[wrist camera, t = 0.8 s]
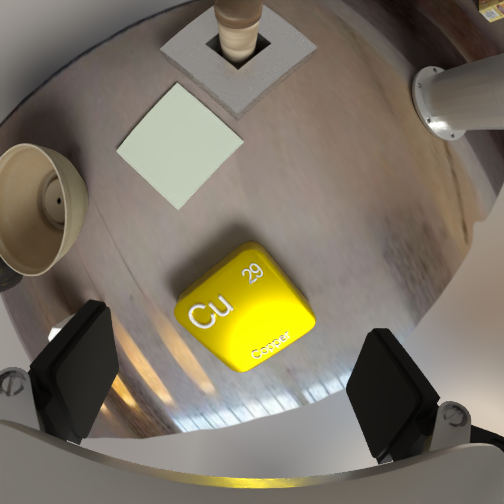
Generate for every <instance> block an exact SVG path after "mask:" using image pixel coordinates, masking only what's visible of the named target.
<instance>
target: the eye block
mask: <svg viewBox="0 0 504 504" xmlns="http://www.w3.org/2000/svg"><path fill="white" fill-rule="evenodd" d="M255 48H256V49H257V50H259V51H260V53H259V54H257V55H256V56H255V57H253V58H252V59H251V60H250V61H249V62H247V63H246V64H245V65H244V66H242V67H241V68H240V69H239V70H237V69H236V68H235V67H234V66H232V65H231V64H230V63H229V62H227V61H226V60H225V59H224V58H222V57H221V56H220V55H219V54H217V53H216V52H218V51H219V50H220V49H221V43H220V36H219V30H218V24H217V19H216V17H215V12H214V6H212V7H211V8H209V9H208V10H207V11H205V12H204V13H203V14H201V15H200V16H199V17H197V18H196V19H195V20H193V21H192V22H191V23H190V24H188V25H187V26H186V27H185V28H183V29H182V30H181V31H180V32H179V33H177V34H176V35H175V36H174V37H173V38H171V39H170V40H169V41H168V42H167V43H166V44H165V45H164V46H162V47H161V48H160V50H161V52H162V53H163V54H164V56H165V57H166V59H167V60H168V61H169V63H171V64H172V65H173V66H174V67H176V68H177V69H178V70H179V71H181V72H182V73H183V74H184V75H186V76H187V77H188V78H189V79H191V80H192V81H193V82H194V83H195V84H197V85H198V86H199V87H200V88H201V89H203V90H204V91H205V92H206V93H207V94H208V95H210V96H211V97H212V98H213V99H214V100H215V101H216V102H218V103H219V104H220V105H221V106H222V107H223V108H224V109H226V110H227V111H228V112H229V113H230V114H231V115H232V116H233V117H234V118H235V119H237V120H238V121H239V120H240V119H241V118H242V117H243V116H244V115H245V114H246V113H247V112H248V111H249V110H250V109H251V108H253V107H254V106H255V105H256V104H257V103H258V102H259V101H260V100H261V99H263V98H264V97H265V96H266V95H267V94H268V93H269V92H271V91H272V90H273V89H274V88H275V87H276V86H278V85H279V84H280V83H281V82H282V81H284V80H285V79H286V78H287V77H288V76H290V75H291V74H292V73H293V72H295V71H296V70H297V69H298V68H300V67H301V66H302V65H303V64H305V63H306V62H307V61H308V60H309V59H310V57H311V56H312V54H313V53H314V52H315V50H316V49H317V47H316V46H315V45H314V44H313V43H312V42H311V41H310V40H308V39H307V38H306V37H305V36H304V35H302V34H301V33H300V32H299V31H298V30H296V29H295V28H294V27H293V26H292V25H290V24H289V23H288V22H286V21H285V20H284V19H283V18H281V17H280V16H279V15H277V14H276V13H275V12H273V11H272V10H270V9H269V8H268V7H266V6H265V5H263V9H262V15H261V18H260V20H259V27H258V33H257V40H256V47H255Z"/></svg>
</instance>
